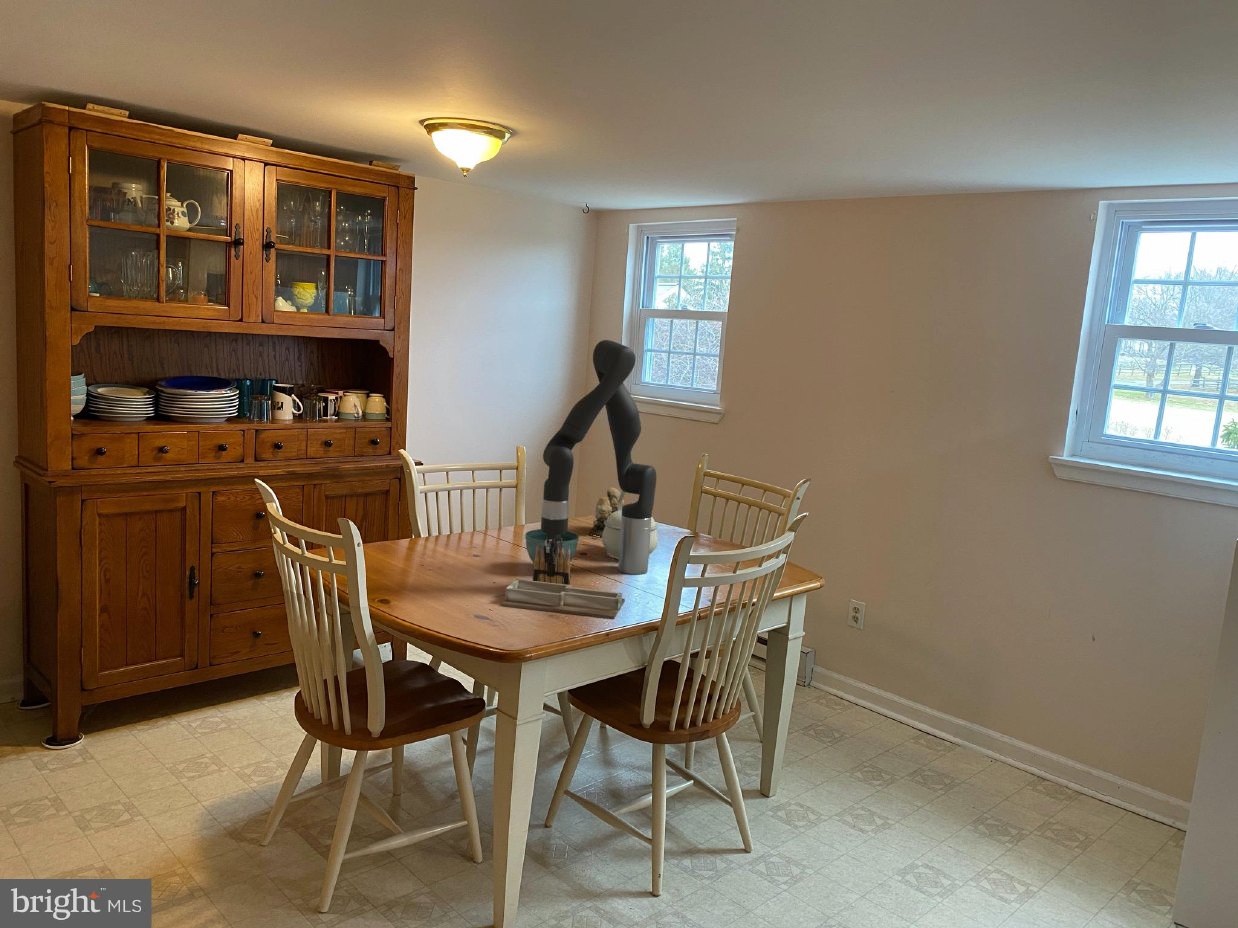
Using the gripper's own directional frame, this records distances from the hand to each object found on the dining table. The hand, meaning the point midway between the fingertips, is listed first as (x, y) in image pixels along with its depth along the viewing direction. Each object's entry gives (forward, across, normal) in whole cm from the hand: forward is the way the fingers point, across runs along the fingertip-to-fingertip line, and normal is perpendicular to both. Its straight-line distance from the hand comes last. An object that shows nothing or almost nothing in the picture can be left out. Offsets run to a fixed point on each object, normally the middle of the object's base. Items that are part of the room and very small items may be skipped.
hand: (551, 575), depth 260 cm
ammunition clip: (+4, 0, 0) cm, 4 cm away
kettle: (+4, -47, +14) cm, 49 cm away
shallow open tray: (+4, +13, +7) cm, 15 cm away
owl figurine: (+4, -76, +2) cm, 76 cm away
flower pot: (+4, -19, -5) cm, 20 cm away
